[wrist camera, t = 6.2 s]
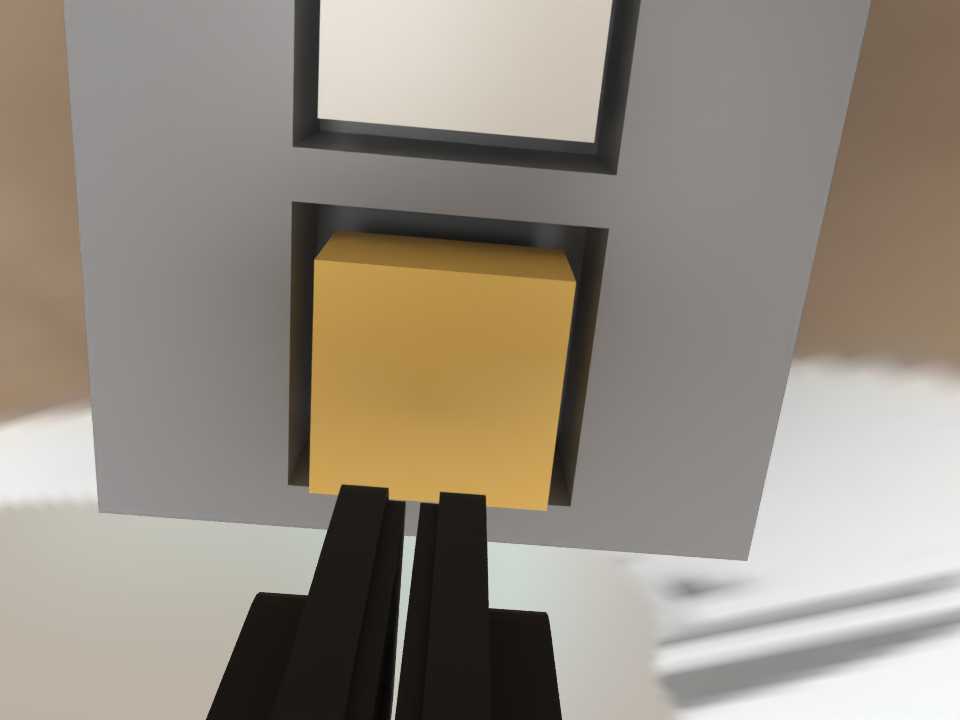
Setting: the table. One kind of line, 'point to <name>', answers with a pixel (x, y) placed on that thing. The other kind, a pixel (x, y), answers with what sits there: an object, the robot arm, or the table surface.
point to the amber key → (438, 367)
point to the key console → (462, 217)
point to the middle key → (465, 64)
